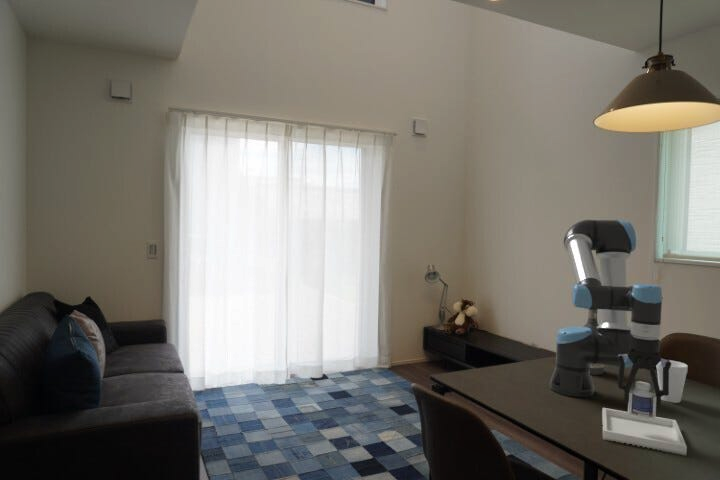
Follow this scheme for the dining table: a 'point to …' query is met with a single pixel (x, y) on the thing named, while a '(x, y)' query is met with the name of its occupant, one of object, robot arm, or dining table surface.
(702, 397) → the dining table surface
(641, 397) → the pill bottle
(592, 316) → the liquor
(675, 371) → the foam cup
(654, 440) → the tray
